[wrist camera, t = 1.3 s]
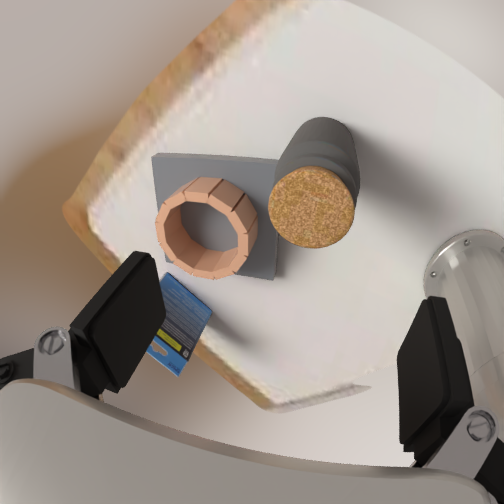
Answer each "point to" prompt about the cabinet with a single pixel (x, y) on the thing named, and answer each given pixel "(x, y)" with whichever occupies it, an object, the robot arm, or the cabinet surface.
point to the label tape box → (179, 325)
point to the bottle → (316, 185)
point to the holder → (216, 214)
